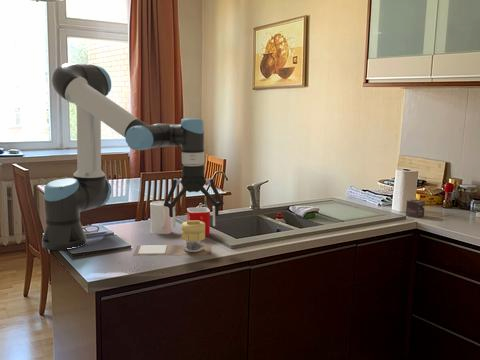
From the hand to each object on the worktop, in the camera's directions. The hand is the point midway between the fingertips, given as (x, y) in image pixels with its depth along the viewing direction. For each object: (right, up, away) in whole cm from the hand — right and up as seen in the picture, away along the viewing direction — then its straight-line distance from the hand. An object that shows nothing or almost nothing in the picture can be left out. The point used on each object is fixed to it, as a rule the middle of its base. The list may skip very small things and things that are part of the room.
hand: (194, 225), depth 163 cm
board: (-7, -10, +1) cm, 12 cm away
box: (+97, -1, +58) cm, 113 cm away
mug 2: (0, -7, +20) cm, 21 cm away
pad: (-14, -8, 0) cm, 17 cm away
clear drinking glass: (0, -8, +2) cm, 9 cm away
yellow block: (0, -4, +1) cm, 4 cm away
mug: (-15, -6, +25) cm, 30 cm away
